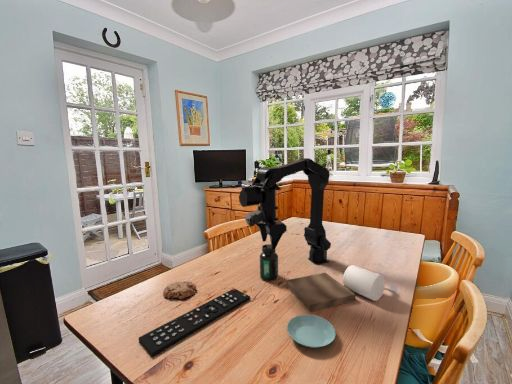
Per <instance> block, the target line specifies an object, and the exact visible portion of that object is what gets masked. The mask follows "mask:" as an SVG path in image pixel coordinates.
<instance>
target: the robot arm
mask: <svg viewBox="0 0 512 384" xmlns="http://www.w3.org/2000/svg"><path fill="white" fill-rule="evenodd" d="M299 172H303V174H305V176H307V182H308V185H309V186H310V188H311V191H310V192H311V193H310V194H311V196H310V213H309V214H310V215H309V224H308V225H307V226H305V227H304V229H303V230H304V235H303V237H304V240H305V241H306V244H307V246H310V247H309V248H310V249H309V251H308V254H309V255H308V258H307V259H308V260H309V261H310V262H312V263H313V264H314V265H320V264H321V265H322V264H326V263H330V260H328V250H329V249H331V246H332V243H331V241H329V240H328V238H327V234H326V230H325V227H324V224H323V215H324V214H323V213H324V196H325V195H324V194H325V188H326V187H327V186H328V184H329V180H330V170H329V169H328V168H327V167H324V166H323V165H322V164H319V163H318V162H315V160H313V159H312V158H309V157H308V158H306V157H302V158H300V159H298V160H295V161H291V162H289V163H286V164H282V165H279V166H271V167H270V166H269V167H261V168H259V169H258V170H257V172H256V176H255V177H254V180H253V181H252V183H251V185H250V186H241V190H240V192H239V194H238V200H239V204H240V206H241V207H242V208H246V207H253V206H257V209H256V210H255V211H251V212H250V213H247V214H246V215H244V220H245V222H246V225H247V226H249V227H254V226H255V225H256V227H258V230H259V233H260V236H261V240H262V242H266V241H267V238H268V236H269V240H270V244H271V247H272V250H274V249H275V250H276V249H277V246H278V244H279V242H280V241H281V238H282V236H283V235H284V234H285V233H286V232H287V231H288V230H287V227H288V226H287V224H285V223H284V222H282V221H280V220H279V218H278V217H277V210H279V206H278V205H277V201H276V200H277V197H276V195H277V193H276V192H277V191H281V189H282V188H281V187H280V186H279V185H278V184H277V183H279V182H281V181H282V180H283V179H284V178H285V177H289V176H290V175H293V174H296V173H299Z"/></svg>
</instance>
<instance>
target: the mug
mask: <svg viewBox="0 0 512 384" xmlns="http://www.w3.org/2000/svg"><path fill="white" fill-rule="evenodd" d="M342 277H343V278H342V283H343V284H342V285H343V286H345V287H346V288H347V289H349V290H350V291H352V292H353V293H356V294H358V295H361V297H365V298H367V299H368V300H369V299H370V300H371V301H373V302H377V301H379V300H380V299H381V297H382V296H383V294H384V291H385V287H386V280H385V277H384V276H383V275H382V274H379V273H377V272H374V271H371V270H368V269H365V268H362V267H360V266H356V265H355V264H354V265H353V264H352V265H351V264H350V265H349V266H348V267H347V268H346V269H345V271H344V274H343V276H342Z"/></svg>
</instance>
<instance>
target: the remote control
mask: <svg viewBox="0 0 512 384" xmlns="http://www.w3.org/2000/svg"><path fill="white" fill-rule="evenodd" d="M250 300H251V296H250V295H248V294H246V293H245V292H242V291H241V290H238V289H237V288H232V289H230V290H227V291H226V292H224V293H222V294H220V295H218V296H216V297H215V298H212V299H211V300H208V301H207V302H205V303H203V304H201V305H200V306H197V307H195V308H194V309H192V310H190V311H187V312H186V313H184V314H182V315H180V316H178V317H175V318H173V319H172V320H170V321H168V322H166V323H164V324H162V325H160V326H158V327H156V328H154V329H153V330H151V331H148V332H147V333H144V334H142V335H141V336H139V337H138V342H139V343H140V344H141V346H142V347H143V348H144V349H145V350H146V351H147V353H148V354H149V355H150V357H152V358H154V357H156V356H157V355H159V354H160V353H162V352H164V351H166V350H168V349H169V348H171V347H172V346H175V345H176V344H177V343H179V342H181V341H182V340H184V339H186V338H188V337H189V336H191V335H194V334H195V333H196V332H197V331H199V330H201V329H202V328H205V327H207V326H208V325H210V324H211V323H213V322H214V321H216V320H218V319H219V318H221V317H223V316H225V315H227V314H228V313H230V312H232V311H233V310H235V309H236V308H238V307H240V306H242V305H243V304H246V303H247V302H248V301H250Z"/></svg>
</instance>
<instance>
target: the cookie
mask: <svg viewBox="0 0 512 384" xmlns="http://www.w3.org/2000/svg"><path fill="white" fill-rule="evenodd" d="M196 290H197V284H195V283H193V282H192V281H186V280H185V281H175V282H173V283H169V284H167V285H166V287H165V288H164V289H163V292H162V294H163V296H164V298H168V299H175V298H176V299H178V300H183V299H185V298H187V297H191V296H193V295H194V294H195V292H196Z"/></svg>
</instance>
